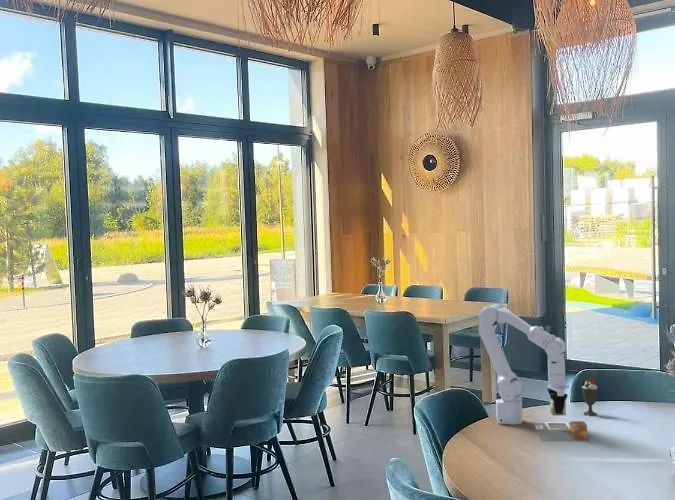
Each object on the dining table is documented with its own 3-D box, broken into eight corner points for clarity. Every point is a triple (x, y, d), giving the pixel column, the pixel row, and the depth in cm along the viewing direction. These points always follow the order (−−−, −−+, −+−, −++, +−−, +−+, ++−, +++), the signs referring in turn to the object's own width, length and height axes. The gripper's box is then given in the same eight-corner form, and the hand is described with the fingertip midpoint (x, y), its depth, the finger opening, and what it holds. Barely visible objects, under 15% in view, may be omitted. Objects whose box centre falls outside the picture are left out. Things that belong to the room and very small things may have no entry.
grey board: (541, 443, 218) (541, 439, 218) (532, 425, 237) (532, 421, 237) (591, 444, 215) (591, 439, 215) (579, 425, 235) (578, 421, 235)
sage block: (552, 415, 229) (552, 402, 229) (550, 411, 234) (550, 399, 233) (566, 415, 228) (565, 402, 228) (563, 411, 233) (563, 399, 233)
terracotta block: (573, 438, 219) (572, 425, 218) (570, 434, 223) (570, 421, 223) (587, 438, 218) (587, 425, 218) (584, 434, 222) (584, 421, 222)
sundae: (601, 416, 244) (600, 376, 243) (582, 416, 245) (581, 376, 244) (598, 411, 250) (597, 372, 250) (579, 411, 251) (578, 372, 251)
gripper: (572, 377, 223) (573, 417, 223) (564, 368, 237) (565, 405, 237) (550, 377, 224) (552, 417, 224) (544, 368, 238) (545, 405, 239)
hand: (557, 411), depth 231 cm, fingers closed on sage block, 4 cm apart
